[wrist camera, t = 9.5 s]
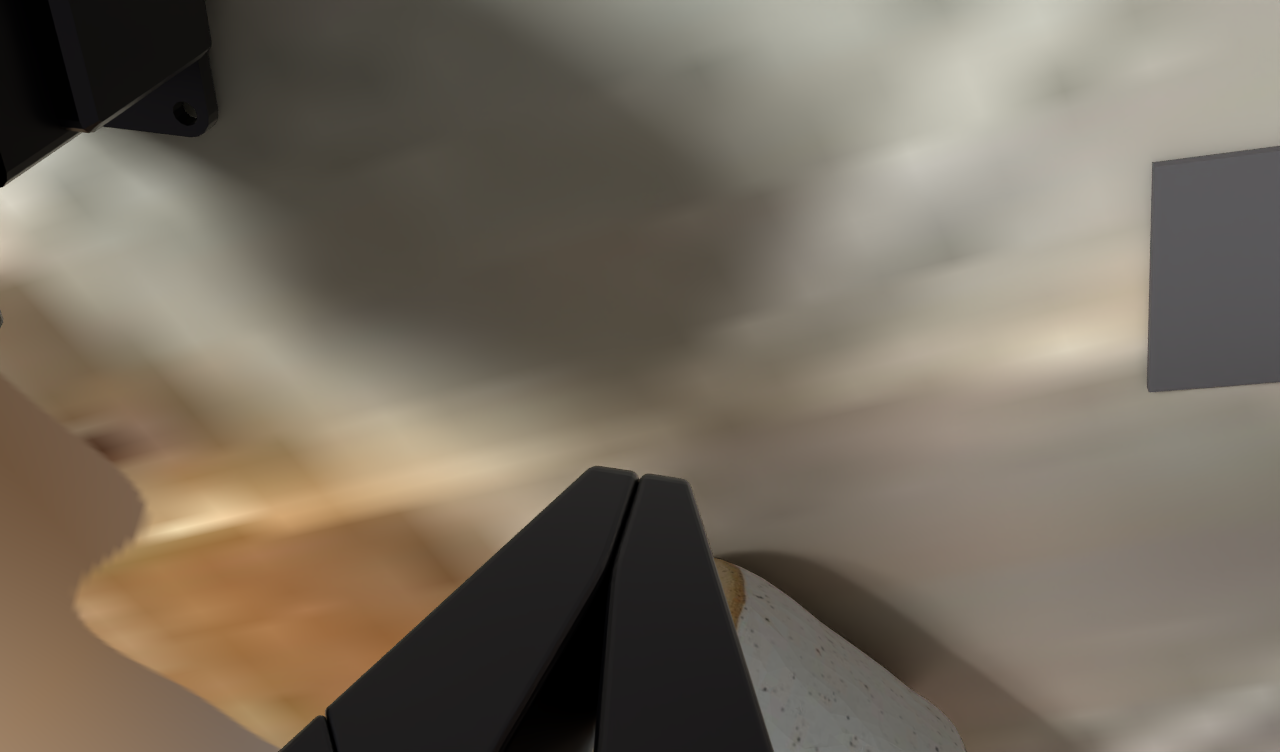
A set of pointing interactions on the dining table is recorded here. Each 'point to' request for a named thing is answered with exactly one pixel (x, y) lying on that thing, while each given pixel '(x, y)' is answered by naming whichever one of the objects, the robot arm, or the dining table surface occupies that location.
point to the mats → (1215, 271)
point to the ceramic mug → (824, 680)
